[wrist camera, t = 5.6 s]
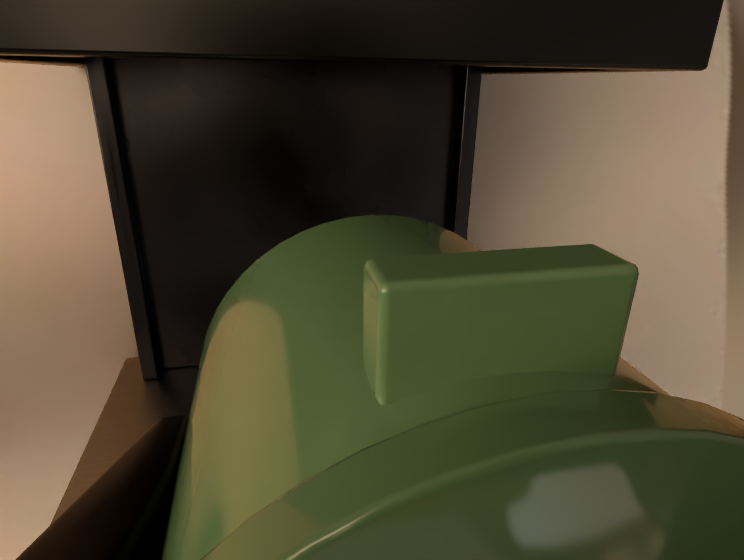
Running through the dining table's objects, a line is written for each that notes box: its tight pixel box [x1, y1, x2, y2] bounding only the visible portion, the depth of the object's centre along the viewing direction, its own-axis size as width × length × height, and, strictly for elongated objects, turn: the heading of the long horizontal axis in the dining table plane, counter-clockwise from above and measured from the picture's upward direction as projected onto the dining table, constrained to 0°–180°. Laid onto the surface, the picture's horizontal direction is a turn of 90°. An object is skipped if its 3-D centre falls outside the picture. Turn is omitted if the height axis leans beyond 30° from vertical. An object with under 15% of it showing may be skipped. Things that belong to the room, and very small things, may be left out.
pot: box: [161, 215, 744, 560], centre depth 6 cm, size 8×6×7 cm
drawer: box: [51, 57, 482, 524], centre depth 14 cm, size 16×13×9 cm
